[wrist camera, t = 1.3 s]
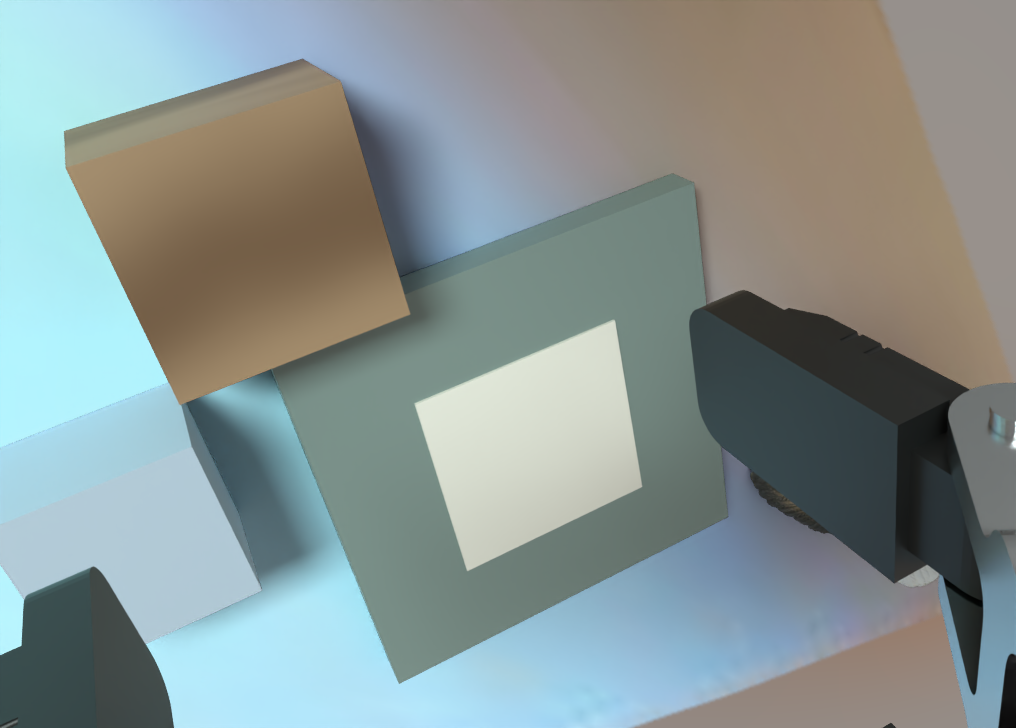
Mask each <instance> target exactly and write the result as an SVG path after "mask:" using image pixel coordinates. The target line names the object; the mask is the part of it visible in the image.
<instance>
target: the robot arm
mask: <svg viewBox="0 0 1016 728" xmlns="http://www.w3.org/2000/svg"><path fill="white" fill-rule="evenodd" d="M689 331H690V340H691V348H692V357H693V365H694V374H695V382H696V391H697V399H698V406H699V410H700V414H701V416H702V419H703V421H704V423H705V425H706V427H707V429H708V431H709V432H710V434H711V435H712V437H713V438H714V439H715V440H716V441H717V443H718V444H719V445H721V446H722V447H723V448H724V449H725V450H727V451H728V452H729V453H731V454H732V455H733V456H734V457H736V458H737V459H738V460H739V461H741V462H742V463H743V464H744V465H746V466H747V467H748V468H749V469H751V470H752V471H753V472H754V473H756V474H757V475H758V476H760V477H761V478H762V479H763V480H765V481H766V482H767V483H768V484H770V485H771V486H772V487H773V488H775V489H776V490H777V491H778V492H780V493H781V494H782V495H784V496H785V497H786V498H787V499H789V500H790V501H791V502H792V503H794V504H795V505H796V506H797V507H799V508H800V509H801V510H802V511H804V512H805V513H806V514H807V515H809V516H810V517H811V518H813V519H814V520H815V521H816V522H818V523H819V524H820V525H821V526H823V527H824V528H825V529H826V530H828V531H829V532H830V533H831V534H833V535H834V536H835V537H836V538H838V539H839V540H840V541H842V542H843V543H844V544H845V545H847V546H848V547H849V548H850V549H852V550H853V551H854V552H855V553H857V554H858V555H859V556H860V557H862V558H863V559H864V560H866V561H867V562H868V563H869V564H871V565H872V566H873V567H874V568H876V569H877V570H878V571H879V572H881V573H882V574H883V575H884V576H886V577H887V578H888V579H889V580H891V581H892V582H893V583H896V582H898V581H899V580H901V579H903V578H905V577H907V576H908V575H910V574H912V573H914V572H915V571H917V570H919V569H921V568H923V567H924V566H926V565H928V566H930V567H931V568H932V569H934V570H935V571H936V572H938V573H939V582H938V593H939V599H940V604H941V608H942V612H943V617H944V621H945V625H946V630H947V634H948V639H949V643H950V647H951V652H952V656H953V661H954V665H955V670H956V673H957V678H958V682H959V687H960V691H961V696H962V700H963V704H964V709H965V713H966V719H967V725H968V728H1016V383H998V384H990V385H985V386H980V387H977V388H974V389H971V390H969V389H967V388H966V387H964V386H962V385H960V384H958V383H956V382H954V381H952V380H950V379H948V378H946V377H944V376H942V375H940V374H938V373H936V372H934V371H933V370H931V369H929V368H927V367H925V366H923V365H921V364H919V363H917V362H915V361H913V360H911V359H909V358H907V357H905V356H903V355H901V354H899V353H898V352H896V351H894V350H892V349H890V348H888V347H887V348H885V349H883V348H882V345H881V344H880V343H878V342H876V341H874V340H872V339H870V338H868V337H866V336H865V335H861V336H859V335H858V334H857V331H855V330H853V329H851V328H849V327H847V326H845V325H843V324H841V323H839V322H837V321H835V320H833V319H831V318H830V317H828V316H824V315H819V314H814V313H809V312H805V311H800V310H795V309H790V308H788V309H786V310H783V309H781V308H779V307H777V306H775V305H773V304H772V303H770V302H768V301H766V300H764V299H762V298H760V297H759V296H757V295H755V294H753V293H751V292H749V291H745V290H741V291H738V292H736V293H733V294H731V295H729V296H726V297H724V298H722V299H719V300H717V301H715V302H712V303H710V304H708V305H705V306H703V307H701V308H698V309H696V310H694V311H693V312H692V314H691V316H690V320H689ZM0 728H174V725H173V718H172V711H171V705H170V700H169V696H168V693H167V689H166V686H165V683H164V681H163V678H162V675H161V673H160V670H159V668H158V666H157V664H156V662H155V660H154V658H153V656H152V654H151V653H150V651H149V649H148V648H147V646H146V644H145V643H144V641H143V639H142V638H141V636H140V634H139V633H138V631H137V629H136V628H135V626H134V624H133V623H132V621H131V619H130V618H129V616H128V614H127V613H126V611H125V609H124V608H123V606H122V604H121V603H120V601H119V599H118V598H117V596H116V594H115V593H114V591H113V589H112V588H111V586H110V584H109V583H108V581H107V580H106V578H105V577H104V575H103V574H102V573H101V571H100V570H99V569H97V568H96V567H94V566H93V567H91V568H88V569H86V570H84V571H81V572H79V573H77V574H74V575H72V576H70V577H67V578H65V579H63V580H60V581H58V582H56V583H53V584H51V585H49V586H46V587H44V588H42V589H39V590H37V591H35V592H32V593H30V594H28V595H27V596H26V597H25V600H24V609H23V629H22V646H20V647H18V648H16V649H14V650H11V651H9V652H7V653H4V654H2V655H0ZM883 728H896V727H895V726H894V725H893V724H892V723H890V724H888V725H886V726H885V727H883Z"/></svg>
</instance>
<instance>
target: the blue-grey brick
mask: <svg viewBox="0 0 1016 728" xmlns="http://www.w3.org/2000/svg"><path fill="white" fill-rule="evenodd" d="M0 565H1V567H2V568H3V570H4V571H5V572H6V574H7V575H8V577H9V578H10V580H11V581H12V583H13V584H14V586H15V587H16V589H17V590H18V591H19V593H20V594H21V596H22V597H23V599H24V600H25V597H26V596H27V595H28V594H30V593H32V592H35V591H37V590H39V589H42V588H44V587H46V586H49V585H51V584H53V583H56V582H58V581H60V580H63V579H65V578H67V577H70V576H72V575H74V574H77V573H79V572H81V571H84V570H86V569H88V568H91V567H93V566H94V567H96V568H97V569H99V570H100V571H101V573H102V574H103V575H104V577H105V578H106V580H107V581H108V583H109V584H110V586H111V588H112V589H113V591H114V593H115V594H116V596H117V598H118V599H119V601H120V603H121V604H122V606H123V608H124V609H125V611H126V613H127V614H128V616H129V618H130V619H131V621H132V623H133V624H134V626H135V628H136V629H137V631H138V633H139V634H140V636H141V638H142V639H143V641H144V643H145V644H147V643H149V642H151V641H153V640H156V639H158V638H160V637H162V636H164V635H166V634H169V633H171V632H173V631H175V630H177V629H180V628H182V627H184V626H186V625H188V624H190V623H193V622H195V621H197V620H199V619H201V618H204V617H206V616H208V615H210V614H212V613H214V612H217V611H219V610H221V609H223V608H225V607H227V606H230V605H232V604H234V603H236V602H238V601H241V600H243V599H245V598H247V597H249V596H251V595H254V594H256V593H258V592H260V591H262V588H261V585H260V582H259V578H258V575H257V572H256V568H255V565H254V562H253V559H252V555H251V552H250V549H249V545H248V542H247V539H246V535H245V532H244V529H243V525H242V522H241V519H240V515H239V513H238V511H237V508H236V506H235V504H234V502H233V500H232V498H231V496H230V494H229V492H228V490H227V488H226V485H225V483H224V481H223V479H222V477H221V475H220V473H219V471H218V469H217V467H216V465H215V462H214V460H213V458H212V456H211V454H210V452H209V450H208V448H207V446H206V444H205V442H204V439H203V437H202V435H201V433H200V431H199V429H198V427H197V425H196V423H195V421H194V419H193V416H192V414H191V412H190V410H189V408H188V406H187V404H186V403H184V404H181V405H179V403H178V401H177V399H176V396H175V394H174V392H173V390H172V388H171V386H170V384H169V382H168V383H166V384H163V385H161V386H158V387H155V388H153V389H150V390H148V391H145V392H142V393H140V394H137V395H135V396H132V397H130V398H127V399H124V400H122V401H119V402H117V403H114V404H112V405H109V406H106V407H104V408H101V409H99V410H96V411H94V412H91V413H88V414H86V415H83V416H81V417H78V418H75V419H73V420H70V421H68V422H65V423H63V424H60V425H57V426H55V427H52V428H50V429H47V430H45V431H42V432H39V433H37V434H34V435H32V436H29V437H26V438H24V439H21V440H19V441H16V442H14V443H11V444H8V445H6V446H3V447H1V448H0Z"/></svg>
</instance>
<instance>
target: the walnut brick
mask: <svg viewBox="0 0 1016 728" xmlns="http://www.w3.org/2000/svg"><path fill="white" fill-rule="evenodd" d="M64 139H65V165H66V170H67V172H68V174H69V176H70V178H71V180H72V182H73V184H74V186H75V188H76V190H77V192H78V195H79V197H80V199H81V201H82V203H83V205H84V207H85V209H86V211H87V213H88V215H89V217H90V219H91V222H92V224H93V226H94V228H95V230H96V232H97V234H98V236H99V238H100V240H101V242H102V244H103V247H104V249H105V251H106V253H107V255H108V257H109V259H110V261H111V263H112V265H113V267H114V269H115V272H116V274H117V276H118V278H119V280H120V282H121V284H122V286H123V288H124V290H125V292H126V294H127V297H128V299H129V301H130V303H131V305H132V307H133V309H134V311H135V313H136V315H137V317H138V319H139V322H140V324H141V326H142V328H143V330H144V332H145V334H146V336H147V338H148V340H149V342H150V344H151V347H152V349H153V351H154V353H155V355H156V357H157V359H158V361H159V363H160V365H161V367H162V369H163V372H164V374H165V376H166V378H167V380H168V382H169V384H170V386H171V388H172V390H173V392H174V394H175V396H176V399H177V401H178V403H179V405H181V404H184V403H186V402H189V401H191V400H194V399H196V398H199V397H202V396H204V395H207V394H209V393H212V392H214V391H217V390H219V389H222V388H224V387H227V386H229V385H232V384H235V383H237V382H240V381H242V380H245V379H247V378H250V377H252V376H255V375H257V374H260V373H263V372H265V371H268V370H270V369H273V368H275V367H278V366H280V365H283V364H285V363H288V362H291V361H293V360H296V359H298V358H301V357H303V356H306V355H308V354H311V353H313V352H316V351H318V350H321V349H324V348H326V347H329V346H331V345H334V344H336V343H339V342H341V341H344V340H346V339H349V338H352V337H354V336H357V335H359V334H362V333H364V332H367V331H369V330H372V329H374V328H377V327H379V326H382V325H385V324H387V323H390V322H392V321H395V320H397V319H400V318H402V317H405V316H407V315H410V312H409V308H408V305H407V301H406V298H405V295H404V291H403V288H402V285H401V281H400V278H399V275H398V271H397V268H396V265H395V261H394V258H393V255H392V251H391V248H390V245H389V241H388V238H387V234H386V231H385V228H384V224H383V221H382V218H381V214H380V211H379V208H378V204H377V201H376V198H375V194H374V191H373V188H372V184H371V181H370V178H369V174H368V171H367V167H366V164H365V161H364V157H363V154H362V151H361V147H360V144H359V141H358V137H357V134H356V131H355V127H354V124H353V121H352V117H351V114H350V111H349V107H348V104H347V101H346V97H345V94H344V90H343V87H342V84H341V81H339V80H338V79H336V78H334V77H333V76H331V75H329V74H328V73H326V72H324V71H322V70H321V69H319V68H317V67H316V66H314V65H312V64H310V63H309V62H307V61H305V60H304V59H300V60H297V61H294V62H290V63H287V64H284V65H280V66H277V67H274V68H271V69H267V70H264V71H261V72H257V73H254V74H251V75H248V76H244V77H241V78H238V79H234V80H231V81H228V82H224V83H221V84H218V85H215V86H211V87H208V88H205V89H201V90H198V91H195V92H192V93H188V94H185V95H182V96H178V97H175V98H172V99H168V100H165V101H162V102H159V103H155V104H152V105H149V106H145V107H142V108H139V109H136V110H132V111H129V112H126V113H122V114H119V115H116V116H112V117H109V118H106V119H103V120H99V121H96V122H93V123H89V124H86V125H83V126H80V127H76V128H73V129H70V130H66V131H64Z"/></svg>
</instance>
